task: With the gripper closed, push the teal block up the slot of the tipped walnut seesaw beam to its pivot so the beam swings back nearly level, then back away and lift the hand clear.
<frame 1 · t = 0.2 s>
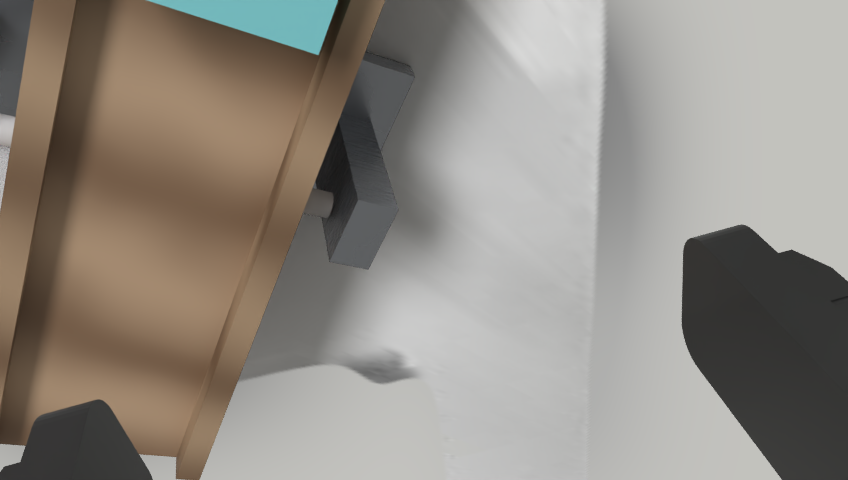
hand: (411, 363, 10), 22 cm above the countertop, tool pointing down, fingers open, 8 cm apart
beam: (166, 176, 25), point 7 cm above the countertop, hinge at -4.5°, touching teal block
pivot stand: (174, 86, 30), on the countertop
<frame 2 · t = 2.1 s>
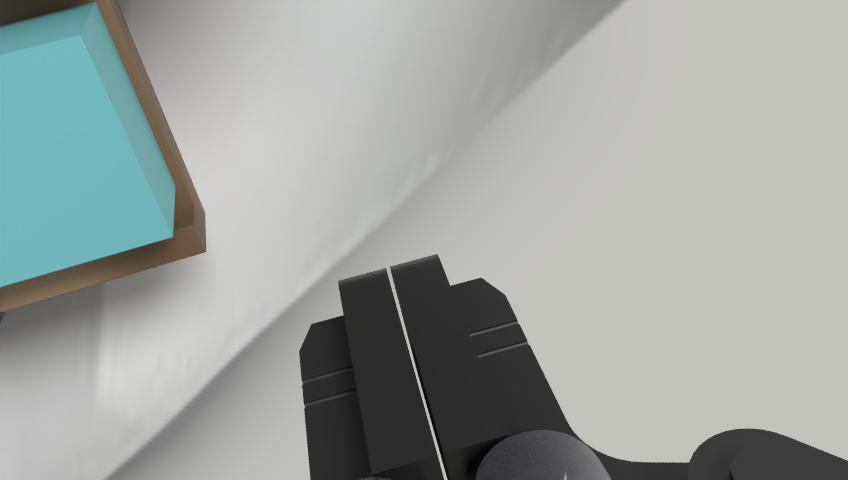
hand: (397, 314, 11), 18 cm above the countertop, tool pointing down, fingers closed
teal block: (11, 134, 20), point 6 cm above the countertop, touching beam
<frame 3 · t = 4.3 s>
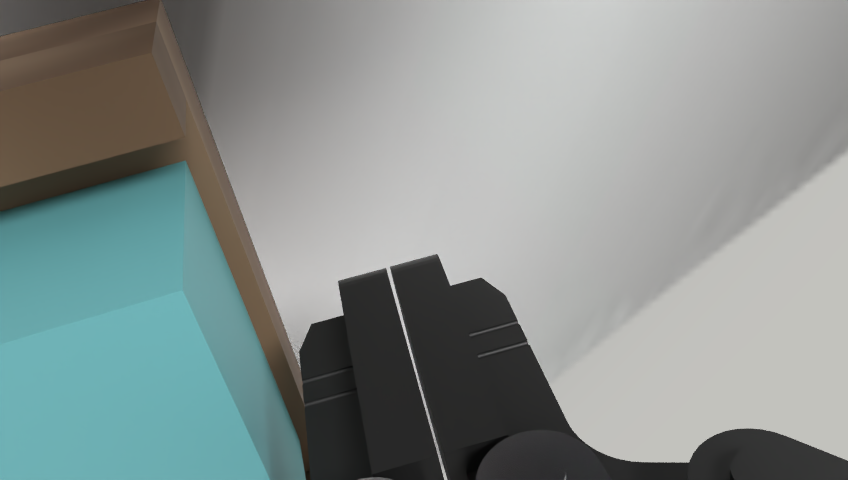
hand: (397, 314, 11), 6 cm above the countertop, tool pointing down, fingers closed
teal block: (17, 390, 11), point 6 cm above the countertop, touching beam, gripper
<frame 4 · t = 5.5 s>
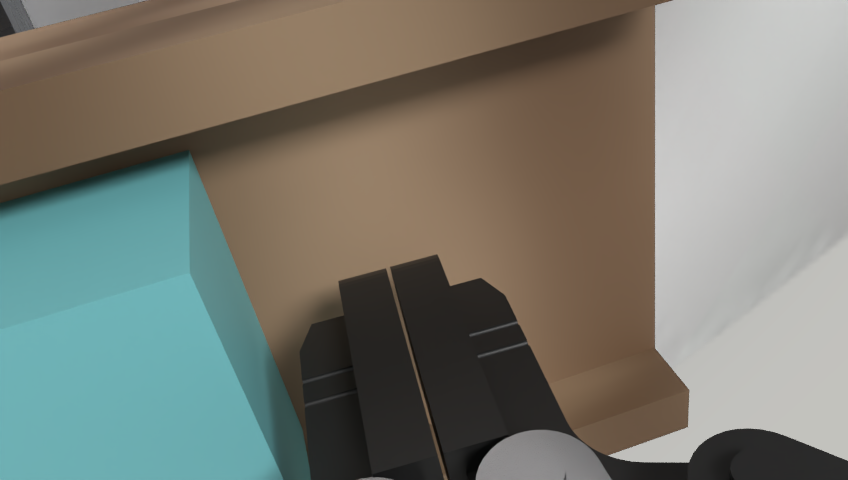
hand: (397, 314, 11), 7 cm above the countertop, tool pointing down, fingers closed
teal block: (23, 380, 11), point 6 cm above the countertop, touching gripper
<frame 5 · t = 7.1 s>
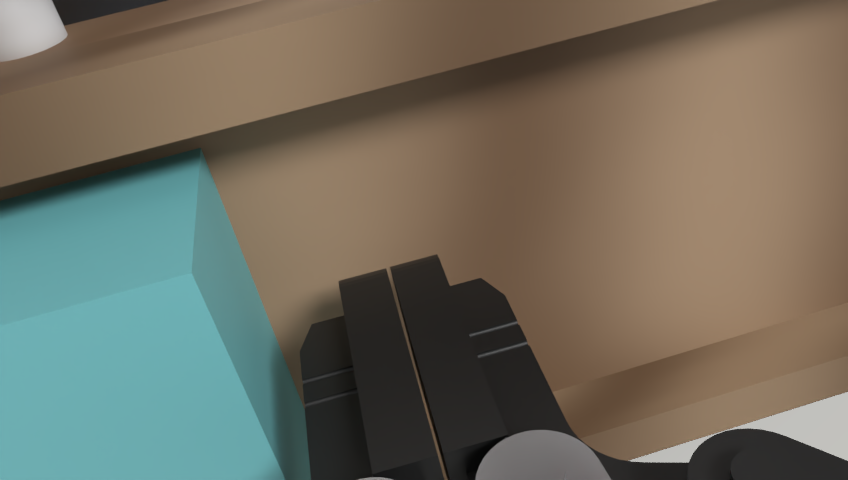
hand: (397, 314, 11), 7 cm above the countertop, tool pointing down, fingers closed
beam: (161, 342, 11), point 7 cm above the countertop, hinge at -0.9°, touching teal block
teal block: (37, 370, 11), point 7 cm above the countertop, touching beam, gripper
pivot stand: (186, 157, 17), on the countertop
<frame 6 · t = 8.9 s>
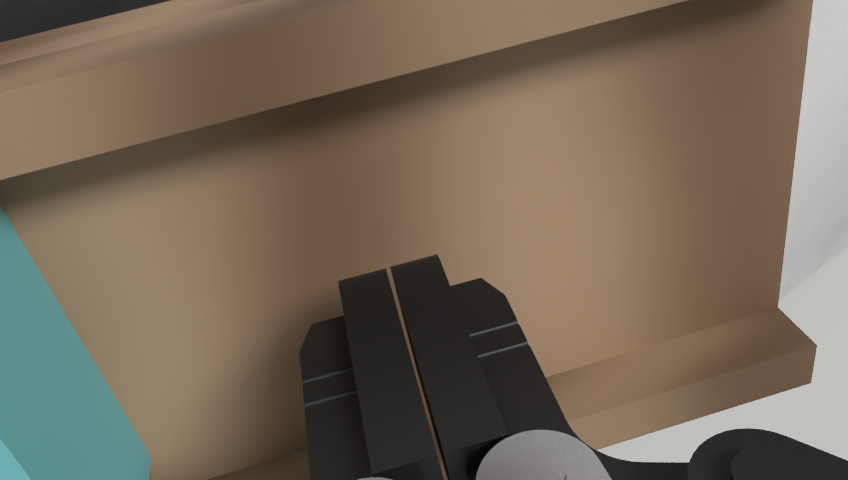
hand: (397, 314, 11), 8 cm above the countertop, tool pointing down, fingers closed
pivot stand: (64, 186, 17), on the countertop
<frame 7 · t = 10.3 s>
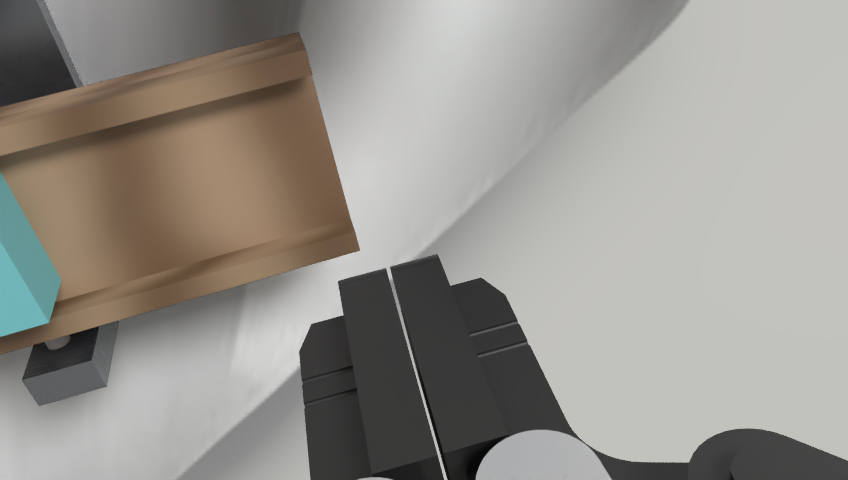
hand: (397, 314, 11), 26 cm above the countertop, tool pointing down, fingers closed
pivot stand: (25, 168, 35), on the countertop
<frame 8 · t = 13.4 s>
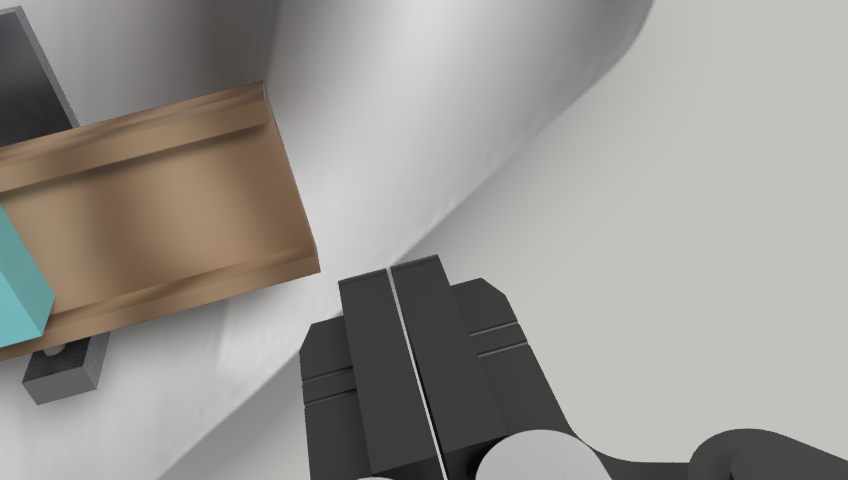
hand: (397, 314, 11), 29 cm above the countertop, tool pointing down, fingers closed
pivot stand: (27, 192, 39), on the countertop
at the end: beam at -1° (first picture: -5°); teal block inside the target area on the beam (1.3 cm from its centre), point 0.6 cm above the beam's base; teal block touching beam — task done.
